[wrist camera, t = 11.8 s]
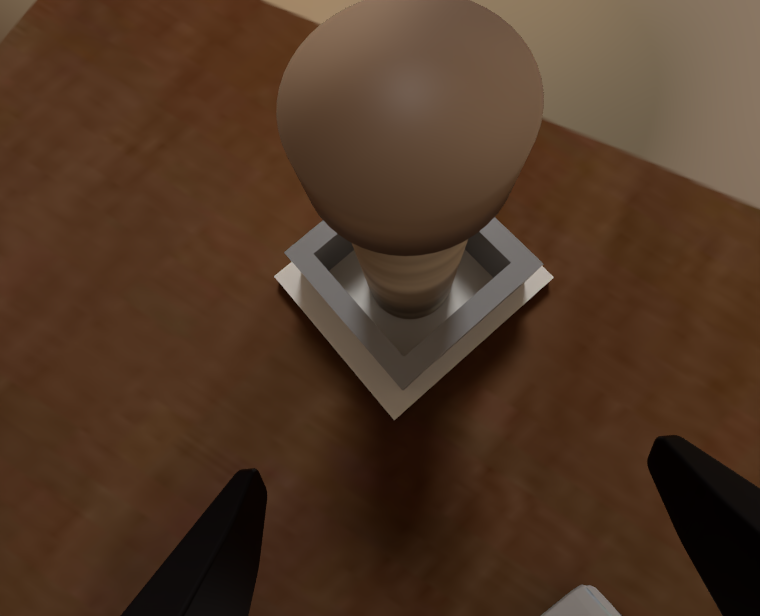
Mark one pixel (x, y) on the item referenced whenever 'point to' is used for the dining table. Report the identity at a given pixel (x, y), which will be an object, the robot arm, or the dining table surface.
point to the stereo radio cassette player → (582, 604)
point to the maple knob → (410, 135)
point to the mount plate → (409, 336)
